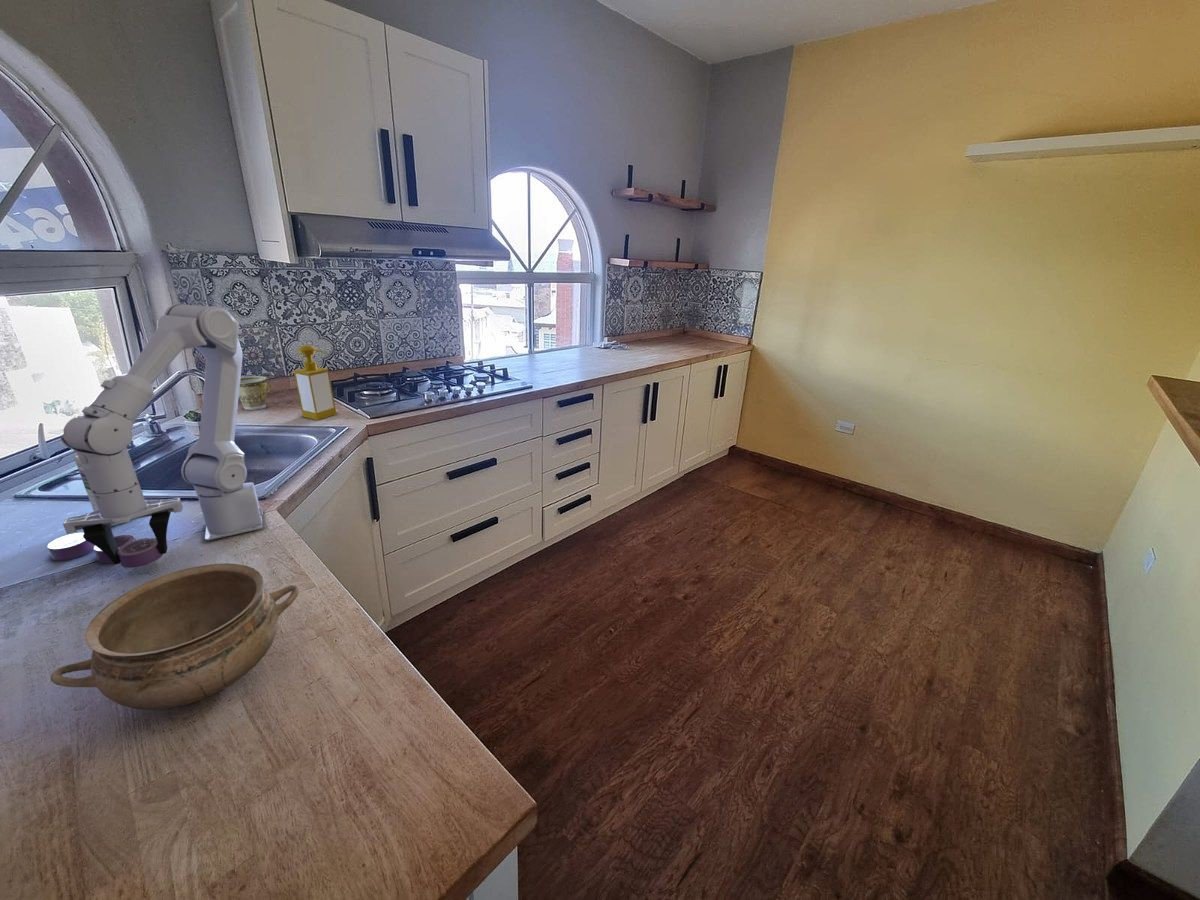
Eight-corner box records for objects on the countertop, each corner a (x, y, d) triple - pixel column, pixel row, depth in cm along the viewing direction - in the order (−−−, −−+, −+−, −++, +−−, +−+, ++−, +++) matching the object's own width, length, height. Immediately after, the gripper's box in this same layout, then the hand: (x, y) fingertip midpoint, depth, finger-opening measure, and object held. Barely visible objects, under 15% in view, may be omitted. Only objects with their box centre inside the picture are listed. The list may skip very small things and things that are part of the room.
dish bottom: (141, 543, 96) (136, 531, 95) (136, 557, 92) (132, 545, 91) (101, 551, 93) (97, 539, 92) (95, 566, 89) (90, 554, 88)
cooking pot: (293, 602, 82) (277, 538, 77) (328, 671, 69) (311, 599, 64) (80, 682, 66) (44, 608, 61) (74, 791, 53) (28, 707, 49)
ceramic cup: (230, 410, 171) (223, 381, 168) (254, 402, 180) (247, 375, 177) (264, 413, 169) (257, 384, 166) (286, 405, 179) (280, 377, 175)
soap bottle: (328, 422, 163) (315, 350, 154) (302, 416, 168) (288, 346, 159) (347, 416, 169) (335, 346, 160) (322, 410, 174) (309, 342, 165)
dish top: (97, 540, 96) (93, 529, 95) (91, 555, 92) (86, 543, 91) (57, 549, 94) (52, 537, 93) (48, 564, 89) (42, 552, 88)
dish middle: (165, 546, 91) (160, 534, 90) (161, 561, 87) (156, 549, 86) (124, 555, 88) (119, 543, 87) (118, 571, 84) (113, 559, 83)
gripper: (46, 506, 75) (78, 581, 80) (169, 485, 83) (191, 555, 88) (59, 488, 81) (88, 559, 86) (173, 470, 88) (194, 536, 93)
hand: (141, 556), depth 87 cm, fingers closed on dish middle, 5 cm apart
